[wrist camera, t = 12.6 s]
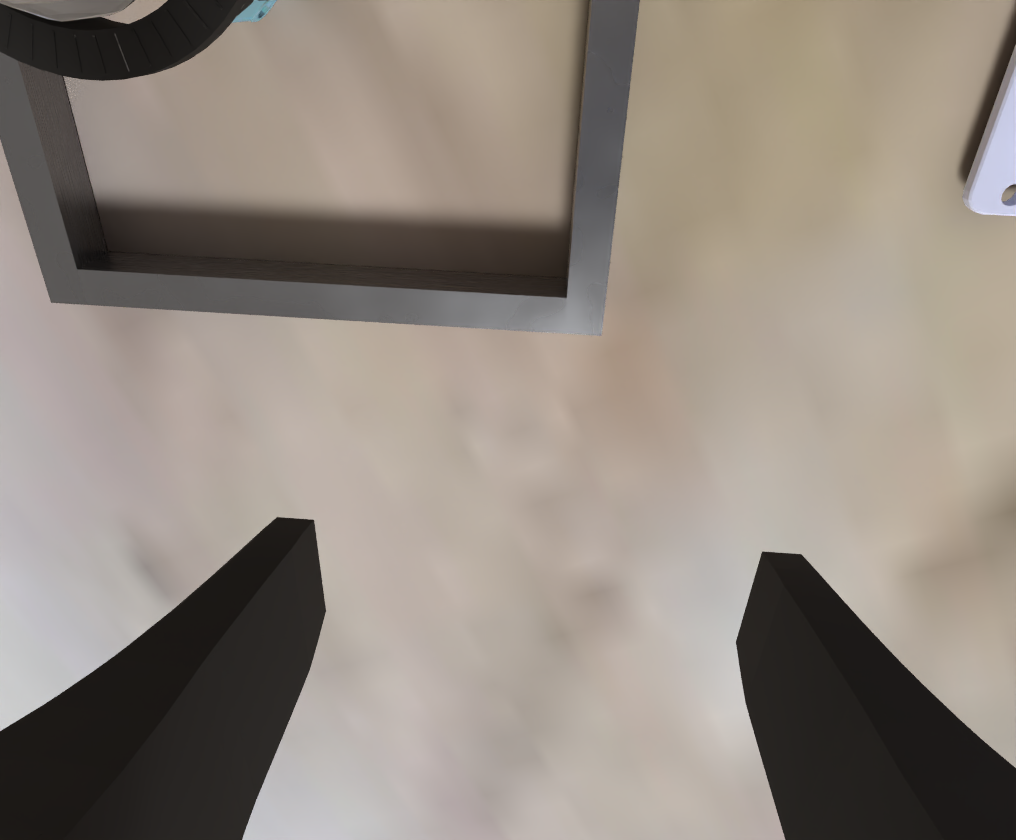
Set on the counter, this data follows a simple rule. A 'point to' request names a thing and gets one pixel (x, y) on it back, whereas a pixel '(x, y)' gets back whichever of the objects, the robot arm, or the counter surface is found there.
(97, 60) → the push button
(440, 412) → the counter surface
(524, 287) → the frame
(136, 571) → the counter surface
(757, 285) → the counter surface
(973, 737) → the robot arm
